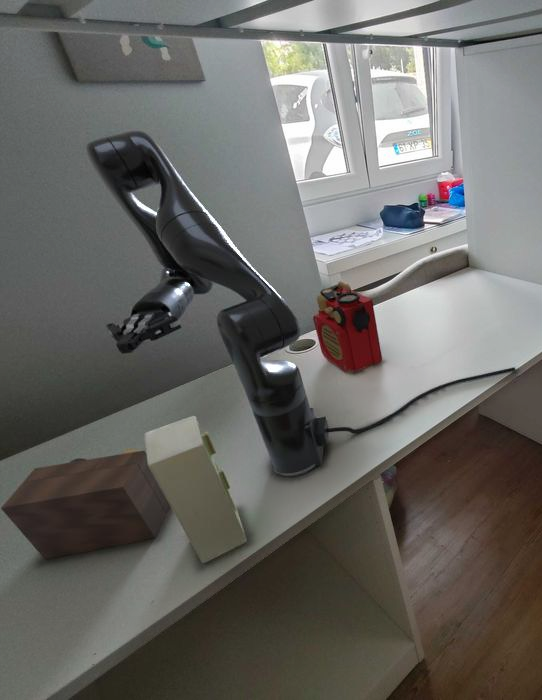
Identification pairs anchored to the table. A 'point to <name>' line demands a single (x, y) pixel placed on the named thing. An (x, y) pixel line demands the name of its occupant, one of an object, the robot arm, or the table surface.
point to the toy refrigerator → (195, 487)
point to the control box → (88, 505)
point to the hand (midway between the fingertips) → (124, 348)
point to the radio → (347, 328)
